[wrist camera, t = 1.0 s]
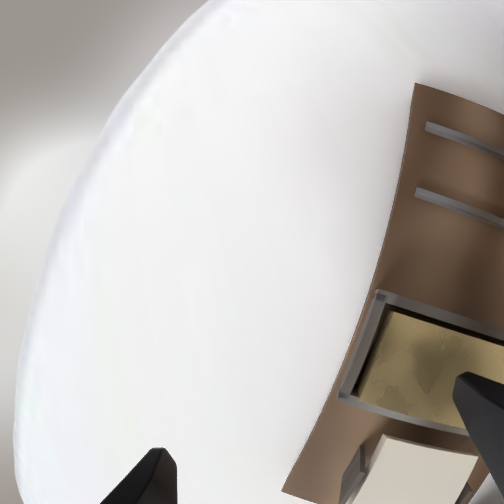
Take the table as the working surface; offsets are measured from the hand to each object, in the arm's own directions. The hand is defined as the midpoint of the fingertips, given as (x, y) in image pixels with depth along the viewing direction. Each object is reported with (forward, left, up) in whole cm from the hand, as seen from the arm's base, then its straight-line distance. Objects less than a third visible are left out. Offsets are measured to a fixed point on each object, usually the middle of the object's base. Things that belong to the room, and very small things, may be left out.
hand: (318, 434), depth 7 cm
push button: (-7, -2, -7) cm, 10 cm away
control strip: (-7, -5, -11) cm, 14 cm away
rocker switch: (-7, +5, -6) cm, 10 cm away
